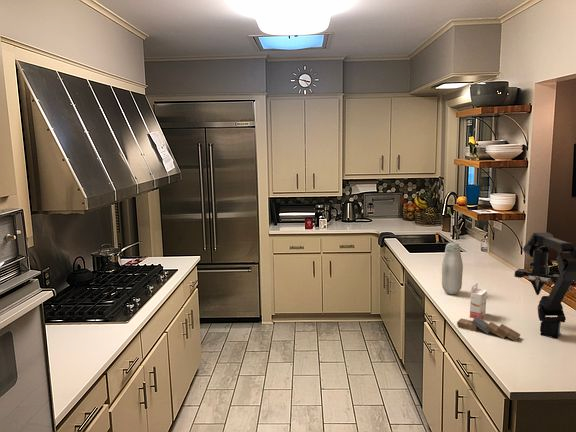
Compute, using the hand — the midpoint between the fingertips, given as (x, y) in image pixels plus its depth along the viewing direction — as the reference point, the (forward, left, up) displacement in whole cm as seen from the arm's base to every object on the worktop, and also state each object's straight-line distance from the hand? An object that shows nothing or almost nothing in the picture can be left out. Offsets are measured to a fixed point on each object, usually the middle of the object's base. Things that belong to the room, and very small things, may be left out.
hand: (537, 294), depth 205 cm
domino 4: (+1, +24, -12) cm, 27 cm away
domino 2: (+17, +24, -13) cm, 32 cm away
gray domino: (+11, +24, -12) cm, 29 cm away
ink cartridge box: (+23, +7, -13) cm, 27 cm away
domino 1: (+17, +23, -11) cm, 31 cm away
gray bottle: (+45, -16, -13) cm, 50 cm away
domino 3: (+5, +24, -12) cm, 27 cm away
